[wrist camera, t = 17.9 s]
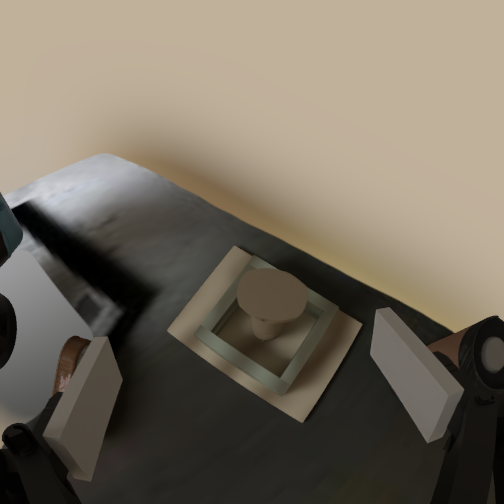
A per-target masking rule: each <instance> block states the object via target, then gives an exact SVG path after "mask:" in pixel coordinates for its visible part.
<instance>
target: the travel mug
mask: <svg viewBox="0 0 504 504" xmlns="http://www.w3.org/2000/svg"><path fill="white" fill-rule="evenodd" d="M426 347H427V348H428V349H429V350H430V351H431V352H432V353H433V352H436V351H439V352H441V353H443V354H445V355H446V356H448V357H449V358H450V359H451V360H452V362H453V363H454V364H455V365H456V366H457V367H458V368H459V370H461V371H462V372H463V373H464V374H465V376H466V377H467V378H468V379H469V380H470V381H471V382H472V383H473V384H474V385H475V387H476V388H486V389H489V390H491V391H492V392H498V391H501V390H504V321H502V320H501V319H500V318H499V316H491V317H488V318H486V319H484V320H482V321H480V322H478V323H476V324H474V325H472V326H470V327H467V328H465V329H463V330H461V331H459V332H457V333H454V334H452V335H450V336H448V337H445V338H443V339H441V340H438V341H436V342H434V343H432V344H430V345H428V346H426ZM390 387H391V390H392V392H393V394H394V395H395V396H396V397H397V398H398V399H399V397H398V396H397V394H396V393H395V391H394V390H393V388H392V386H391V385H390ZM399 400H400V399H399Z"/></svg>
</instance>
